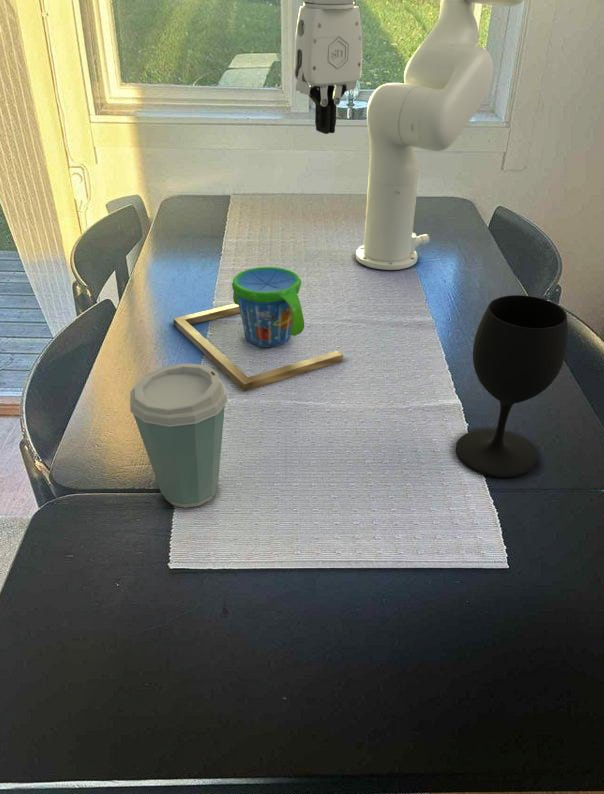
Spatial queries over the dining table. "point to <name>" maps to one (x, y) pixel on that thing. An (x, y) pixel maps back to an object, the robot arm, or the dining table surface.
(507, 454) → the wine glass
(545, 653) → the dining table surface
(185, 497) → the disposable coffee cup
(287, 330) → the snack cup
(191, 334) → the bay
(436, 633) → the dining table surface
